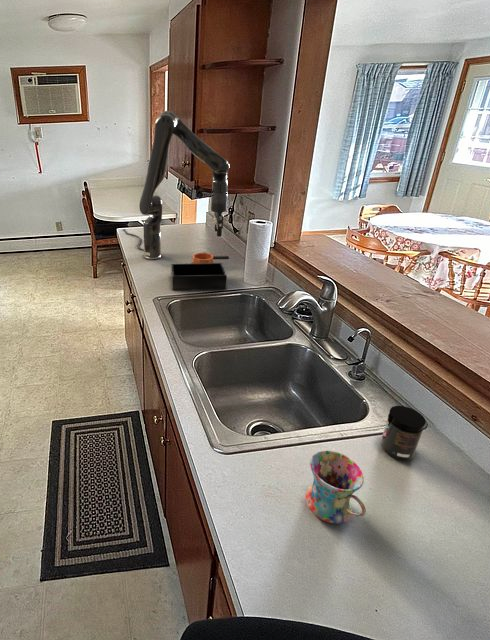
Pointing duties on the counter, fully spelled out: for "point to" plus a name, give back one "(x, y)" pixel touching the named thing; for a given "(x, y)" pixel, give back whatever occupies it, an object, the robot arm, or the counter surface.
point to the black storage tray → (198, 276)
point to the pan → (206, 258)
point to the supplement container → (402, 432)
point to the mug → (334, 486)
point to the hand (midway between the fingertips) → (217, 233)
